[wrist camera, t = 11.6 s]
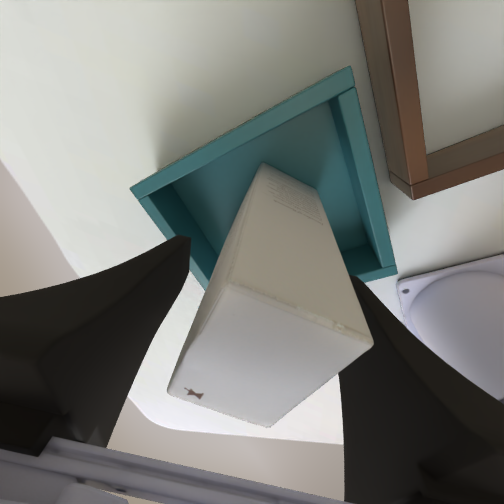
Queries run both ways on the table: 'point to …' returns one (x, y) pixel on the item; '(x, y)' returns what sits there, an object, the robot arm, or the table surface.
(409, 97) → the frame
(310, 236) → the cosmetic box
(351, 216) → the bin
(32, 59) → the table surface
